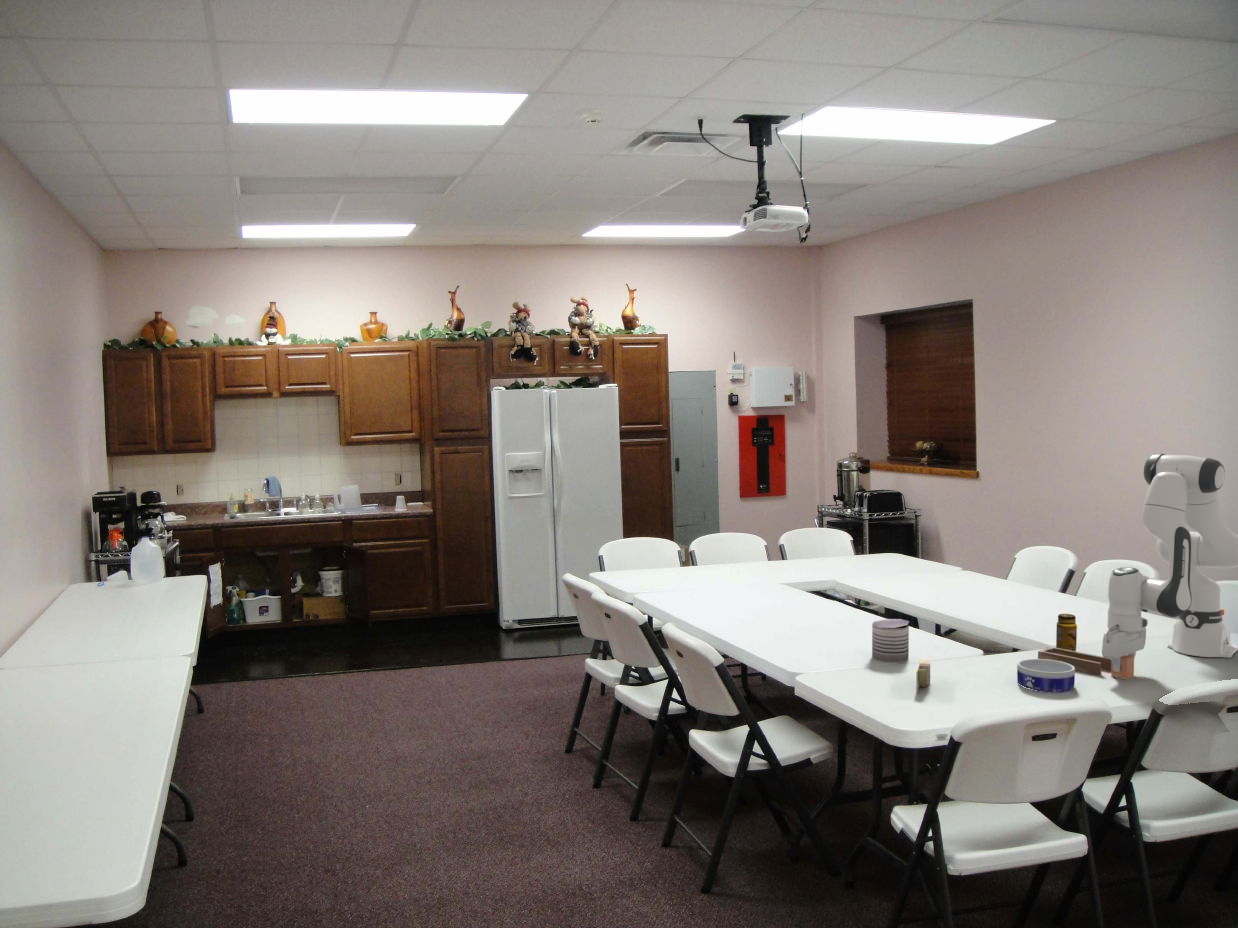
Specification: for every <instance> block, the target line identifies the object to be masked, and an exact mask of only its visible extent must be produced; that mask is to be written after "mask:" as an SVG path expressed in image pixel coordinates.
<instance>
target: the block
mask: <svg viewBox="0 0 1238 928" xmlns="http://www.w3.org/2000/svg"><path fill="white" fill-rule="evenodd" d="M1120 665H1121V671H1119V672H1116V671H1113V664H1112V663H1111V671H1110V675H1111V677H1113V678H1119V679H1123V678H1124V680H1129V679H1132V678H1134V676H1135V675H1134V674H1135V658H1134V657H1133V656H1128V655H1125V656H1122V657H1120Z"/></svg>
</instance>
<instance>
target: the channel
mask: <svg viewBox="0 0 1238 928" xmlns="http://www.w3.org/2000/svg"><path fill="white" fill-rule="evenodd" d="M1049 647H1050V646H1049ZM1076 651H1077V650H1076ZM1076 651H1071V650H1065V649H1060V648H1056V647H1055V646H1051V647H1050V648H1045V649H1040V650H1038V651H1037V659H1048V660H1055V661H1061V662H1065V663H1068V664H1070V665H1072V666H1074V668H1075V671H1078V672H1082V673H1087V674H1092V675H1097V676H1101V675H1102V670H1104V671H1105V670H1106V671H1110V672H1111V663H1112V661H1111V659H1108V658H1104V657H1103V656H1102V655H1101V656H1100V655H1096V654H1095V655H1094V654H1091V653H1090V654H1089V653H1087V652H1086V653H1085V652H1080V651H1077V652H1076Z"/></svg>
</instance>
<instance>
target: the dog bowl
mask: <svg viewBox="0 0 1238 928" xmlns="http://www.w3.org/2000/svg"><path fill="white" fill-rule="evenodd" d="M1016 669H1017V670H1016V671H1017V672H1016V674H1017V675H1016V678H1017V684H1018V683H1019V684H1020V685H1022V686H1024V687H1026V688H1030V689H1033V690H1032V691H1034V690H1037V691H1036V692H1039V691H1043V692H1042V693H1048V692H1050V693H1051V694H1057V693H1067V692H1072V691H1073V690H1074V689H1075V678H1076V677H1075V675H1076V670H1075V668H1074V666H1072V665H1070V664H1068V663H1065V662H1061V661H1055V660H1048V659H1038V658H1029V659H1027V658H1026V659H1022V660H1018V662H1017V663H1016ZM1019 684H1018V685H1019ZM1020 685H1019V686H1020ZM1026 688H1025V689H1026Z"/></svg>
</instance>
